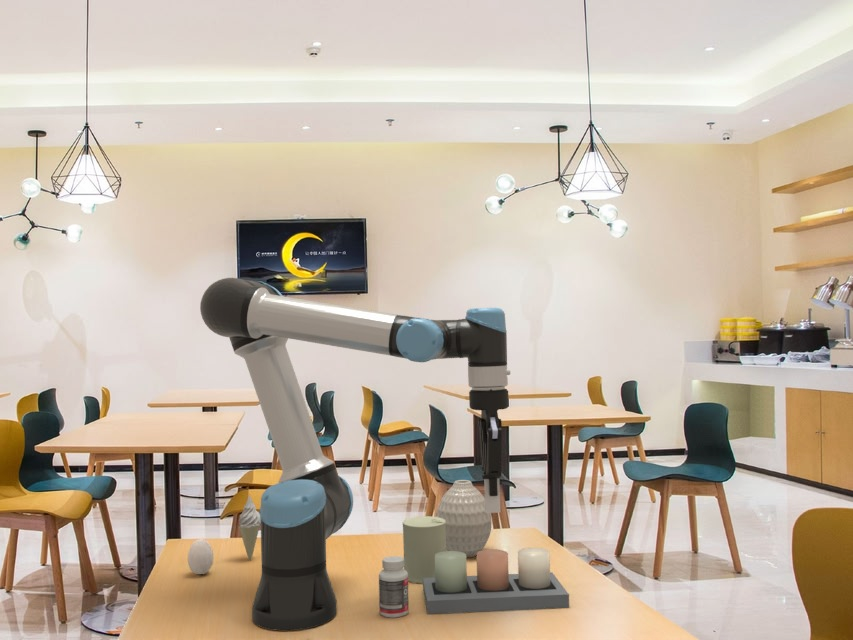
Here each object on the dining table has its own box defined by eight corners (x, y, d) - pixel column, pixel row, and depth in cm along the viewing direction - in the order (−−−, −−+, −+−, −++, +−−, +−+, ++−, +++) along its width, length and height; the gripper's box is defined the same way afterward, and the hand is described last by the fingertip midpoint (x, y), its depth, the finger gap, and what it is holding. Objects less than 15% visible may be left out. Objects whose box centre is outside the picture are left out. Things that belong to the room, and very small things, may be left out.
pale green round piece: (436, 593, 139) (436, 560, 140) (434, 582, 145) (433, 551, 146) (468, 591, 140) (468, 559, 140) (465, 581, 146) (464, 550, 146)
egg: (194, 580, 158) (193, 543, 158) (183, 574, 162) (183, 538, 162) (218, 574, 162) (217, 538, 162) (207, 569, 166) (206, 534, 166)
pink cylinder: (479, 591, 140) (478, 558, 140) (475, 580, 146) (474, 549, 146) (511, 589, 140) (510, 557, 141) (505, 579, 146) (505, 548, 146)
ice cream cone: (266, 559, 172) (264, 493, 173) (249, 565, 168) (248, 497, 168) (250, 556, 175) (249, 491, 175) (234, 561, 171) (232, 495, 171)
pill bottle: (411, 616, 135) (410, 561, 135) (382, 619, 134) (380, 564, 134) (405, 606, 140) (404, 553, 140) (377, 609, 139) (376, 556, 139)
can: (443, 584, 152) (441, 525, 152) (398, 582, 154) (397, 523, 154) (450, 570, 161) (449, 514, 161) (408, 569, 163) (407, 513, 163)
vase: (494, 561, 166) (492, 486, 167) (436, 562, 167) (434, 487, 167) (490, 545, 179) (488, 475, 180) (436, 546, 179) (434, 476, 180)
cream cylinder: (522, 589, 140) (521, 557, 141) (516, 579, 146) (515, 548, 147) (553, 587, 141) (552, 555, 141) (546, 577, 147) (545, 546, 147)
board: (427, 614, 136) (427, 600, 136) (423, 590, 149) (422, 578, 149) (569, 607, 138) (568, 594, 138) (552, 584, 150) (552, 572, 151)
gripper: (514, 389, 138) (518, 519, 137) (502, 385, 151) (506, 503, 150) (473, 391, 137) (478, 521, 137) (465, 386, 150) (469, 505, 150)
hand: (492, 511), depth 143 cm, fingers closed
